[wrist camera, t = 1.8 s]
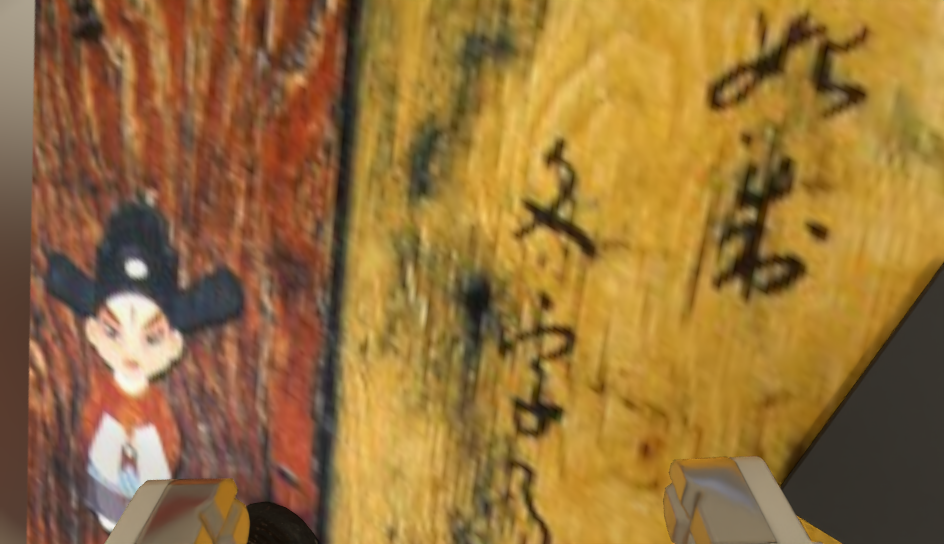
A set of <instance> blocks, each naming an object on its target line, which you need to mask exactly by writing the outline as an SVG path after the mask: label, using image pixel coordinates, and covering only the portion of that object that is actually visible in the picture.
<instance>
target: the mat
mask: <svg viewBox="0 0 944 544" xmlns="http://www.w3.org/2000/svg"><path fill="white" fill-rule="evenodd" d="M780 488H781V490H782V492H783V494H784V495H785V497H786V499H787V500H788V502H789V504H790V506H791V507H792V509H793V511H794V512H795V514H796V515H797V516H799V517H800V518H802V519H804V520H805V521H807V522H809V523H810V524H812V525H813V526H815V527H817V528H818V529H820V530H821V531H823V532H825V533H826V534H828V535H830V536H831V537H833V538H834V539H836V540H838V541H839V542H841V543H842V544H944V263H943V265H942V266H941V267H940V269H939V270H938V271H937V273H936V274H935V276H934V277H933V278H932V280H931V281H930V282H929V284H928V285H927V286H926V288H925V289H924V291H923V292H922V293H921V295H920V296H919V297H918V299H917V300H916V302H915V303H914V304H913V306H912V307H911V308H910V310H909V311H908V313H907V314H906V315H905V317H904V318H903V319H902V321H901V322H900V324H899V325H898V326H897V328H896V329H895V330H894V332H893V333H892V334H891V336H890V337H889V339H888V340H887V341H886V343H885V344H884V345H883V347H882V348H881V350H880V351H879V352H878V354H877V355H876V356H875V358H874V359H873V361H872V362H871V363H870V365H869V366H868V367H867V369H866V370H865V372H864V373H863V374H862V376H861V377H860V378H859V380H858V381H857V382H856V384H855V385H854V387H853V388H852V389H851V391H850V392H849V393H848V395H847V396H846V398H845V399H844V400H843V402H842V403H841V404H840V406H839V407H838V409H837V410H836V411H835V413H834V414H833V415H832V417H831V418H830V420H829V421H828V422H827V424H826V425H825V426H824V428H823V429H822V431H821V432H820V433H819V435H818V436H817V437H816V439H815V440H814V441H813V443H812V444H811V446H810V447H809V448H808V450H807V451H806V452H805V454H804V455H803V457H802V458H801V459H800V461H799V462H798V463H797V465H796V466H795V468H794V469H793V470H792V472H791V473H790V474H789V476H788V477H787V479H786V480H785V481H784V483H783V484H782V485H781V487H780Z"/></svg>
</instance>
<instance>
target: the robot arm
mask: <svg viewBox="0 0 944 544" xmlns="http://www.w3.org/2000/svg"><path fill="white" fill-rule="evenodd" d="M669 474H670V477H671V480H672V483H671V484H670V485H668V486H667V487H666V488H665V492H664V498H663V505H664V517H665V521H666V525H667V529H668V532H669V535H670V538H671V541H672V542H673V543H674V544H823V543H821V542H811V540H810V538H809V536H808V535H807V533H806V531H805V530H804V528H803V526H802V524H801V523H800V521H799V519H798V518H797V516H796V514H795V512H794V511H793V509H792V507H791V506H790V504H789V502H788V500H787V499H786V497H785V495H784V494H783V492H782V490H781V488H780V487H779V485H778V483H777V482H776V480H775V478H774V477H773V475H772V473H771V471H770V470H769V468H768V466H767V465H766V463H765V461H764V460H762V459H761V458H760V457H759V456H747V457H730V458H728V457H713V458H695V459H677V460H674V461H673V462H672V463H671V465H670V469H669ZM237 491H238V488H237V486H236V484H235V482H234V481H233V479H232V478H227V479H169V480H147V481H146V482H145V483H144V484H143V485H142V486H140V487H139V488H138V490H137V491H136V493H135V495H134V496H133V498H132V500H131V501H130V503H129V504H128V506H127V508H126V509H125V511H124V513H123V514H122V516H121V518H120V519H119V521H118V523H117V524H116V526H115V528H114V529H113V531H112V533H111V534H110V536H109V537H108V539H107V541H106V542H105V544H247V542H248V535H249V527H250V521H249V513H248V511H247V508H246V506H245V504H243V503H242V502H240V501H239V500H237V499H236V498H235V496H236V494H237Z"/></svg>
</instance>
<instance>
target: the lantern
mask: <svg viewBox="0 0 944 544" xmlns="http://www.w3.org/2000/svg"><path fill="white" fill-rule="evenodd" d="M246 508H247V511H248V513H249V521H250V527H249V535H248V542H247V544H319V543H318V541H317V539H316V538H315V536H314V534H313V533H312V532H311V530H310V529H309V528H308V527H307V526H306V524H305V523H304V522H303V521H302V520H301V519H300V518H299V517H298V516H297V515H295V514H294V513H292V512H291V511H289V510H288V509H287V508H285V507H281V506H278V505H275V504H272V503H265V502H261V503H255V504H250V505H248V506H246Z"/></svg>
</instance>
